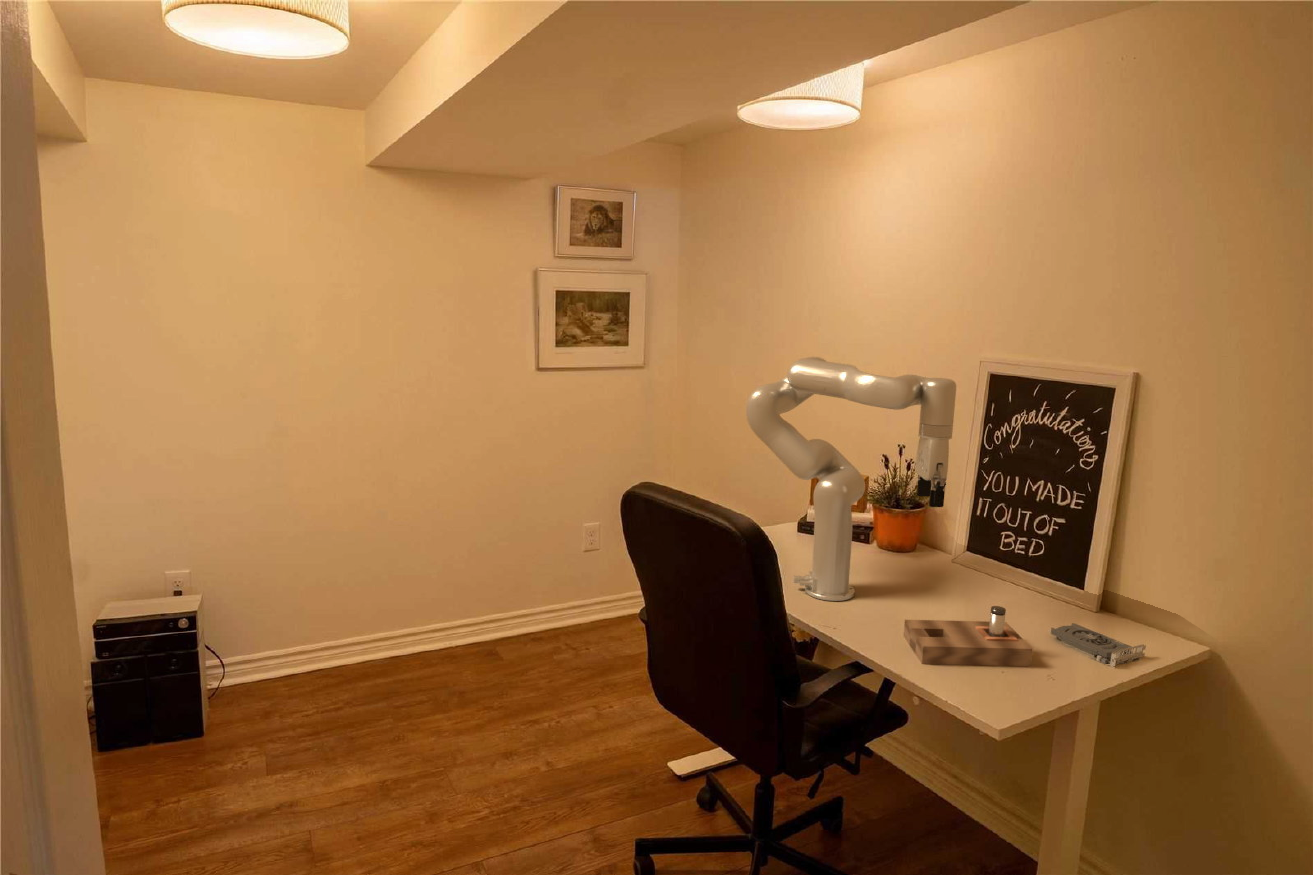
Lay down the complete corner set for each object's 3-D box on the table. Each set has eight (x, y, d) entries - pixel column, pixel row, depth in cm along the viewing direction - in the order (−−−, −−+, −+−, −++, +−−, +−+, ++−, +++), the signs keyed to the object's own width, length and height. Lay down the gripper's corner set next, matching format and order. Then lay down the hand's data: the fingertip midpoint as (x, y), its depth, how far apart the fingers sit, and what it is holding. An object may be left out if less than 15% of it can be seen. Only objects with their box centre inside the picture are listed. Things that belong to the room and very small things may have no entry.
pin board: (921, 663, 176) (923, 644, 175) (903, 636, 189) (904, 617, 188) (1030, 666, 175) (1032, 647, 174) (1004, 638, 189) (1006, 620, 188)
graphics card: (1151, 645, 180) (1115, 654, 174) (1148, 661, 180) (1113, 671, 175) (1081, 618, 195) (1046, 625, 189) (1079, 633, 195) (1044, 640, 190)
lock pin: (989, 654, 181) (994, 611, 179) (984, 648, 184) (988, 605, 182) (1003, 654, 181) (1008, 611, 179) (998, 648, 184) (1002, 606, 182)
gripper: (909, 424, 203) (903, 491, 206) (931, 437, 186) (924, 510, 189) (939, 424, 203) (934, 492, 206) (964, 438, 186) (957, 511, 189)
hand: (929, 501), depth 198 cm, fingers open, 9 cm apart
